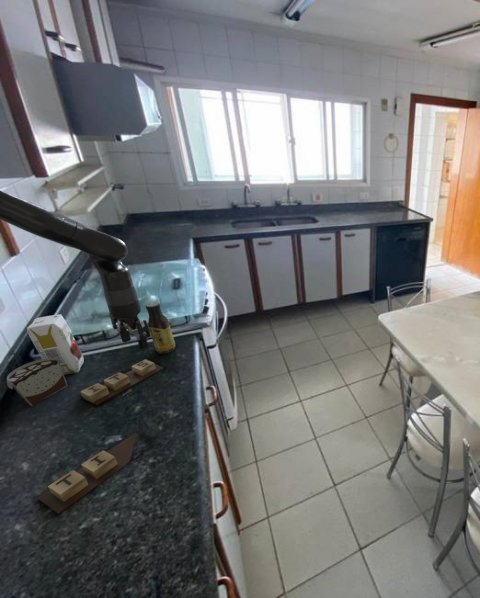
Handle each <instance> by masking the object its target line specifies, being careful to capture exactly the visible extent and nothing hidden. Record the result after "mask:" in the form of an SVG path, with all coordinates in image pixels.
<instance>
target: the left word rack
mask: <svg viewBox="0 0 480 598" xmlns="http://www.w3.org/2000/svg"><path fill="white" fill-rule="evenodd" d="M137 436H138V433H137V432H133V433H132V434H131V435H129V436H128V437H126V438H125V439H122V441H120V442H119V443H117V444H115V445H114V446H112V447H110V449H108V450H103V449H102V450H101V451H100V452H98V453H96V454H95V455H93V456H92V457H91V458H89V459H87V460H86V461H84V462H82V463H81V464H80V465H81V468H79V469H78V470H76V471H75V470H74V469H72V470H71V471H69V472H67V473H66V474H65V475H63V476H61V477H60V478H58V479H57V480H56V481H54V482H52V483H51V484H49V485H48V486H47V488H48V490H46V491H45V492H44V493H42V494H40V495H39V496H37V497H36V498H37V500H38V501H39V502H40V503H42V504H43V505H44V506H46V507H47V508H49V509H50V510H51V511H53V512H55V513H56V514H57V515H59V516H60V515H62V514H63V513H64V512H65V511H67V510H68V509H69V508H70V507H72V506H74V505H75V504H76V503H77V502H79V501H80V500H81V499H83V498H84V497H85V496H87V495H88V494H89V493H90V492H92V491H93V490H94V489H96V488H97V487H98V486H100V485H101V484H102V483H103V482H105V481H107V480H108V479H109V478H111V477H112V476H113V475H114V474H115V473H117V472H118V471H119V470H121V469H122V468H123V467H125V466H126V465H127V464H129V463H130V460H131V457H132V453H133V450H134V447H135V443H136V441H137V440H136V439H137Z"/></svg>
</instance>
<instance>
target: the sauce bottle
mask: <svg viewBox="0 0 480 598" xmlns="http://www.w3.org/2000/svg"><path fill="white" fill-rule="evenodd" d="M145 309H146V310H147V314H148V322H147V325H148V328H149V331H150V335H151V337H150V338H151V340H152V343H153V346H154V349H155V351H156V353H158V354H161V355H162V354H163V355H164V354H168V353H171V352H173V351H174V350H175V349H176V348H177V347H176V342H175V338H174V335H173V331H172V328H171V324H170V323H169V319H168V317H167V316H166V315H164V314H163V311H162V310H161V309H162V308H161V303H160V302H159V301H150V302H147V303H146V304H145Z"/></svg>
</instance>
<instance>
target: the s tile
mask: <svg viewBox="0 0 480 598" xmlns="http://www.w3.org/2000/svg"><path fill="white" fill-rule="evenodd" d="M155 364H156V363H155V362H153V361H151V360H149V359H143V360H141V361H139V362H136V363H135V364H133V365H131V366H130V367H131V370H133V372H134V373H136V374H139V375H141V376H143V375H145V374H147V373H149V372H151V371H153V370H154V369H156V368H155Z"/></svg>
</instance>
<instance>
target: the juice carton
mask: <svg viewBox="0 0 480 598" xmlns="http://www.w3.org/2000/svg"><path fill="white" fill-rule="evenodd" d="M26 331H27V335H28V337H29V339H30V340H31V342H32V344H33V346H34V348H35V350H36V351H37V353H38V355H39V356H40V359H45V358H58V359H60V360H61V362H62V363H60V365H61V368H62V371H63V374H64V376H67V375H71V374H77V373H79V372H80V370H81V367H82V366H83V364H84V360H85V359H84V355H83V353H82V351H81V349H80V347H79V345H78V342H77V340H76V338H75V337H74V334H73V333H72V331H71V328H70V327H69V324H68V323H67V321H66V319H65V318H64V317H63V315H62V314H61V313H60V314H52V315H47V316H40V317H36V318H34V319H33V321H32V323H31V324H29V325H28V326H27V327H26Z"/></svg>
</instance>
